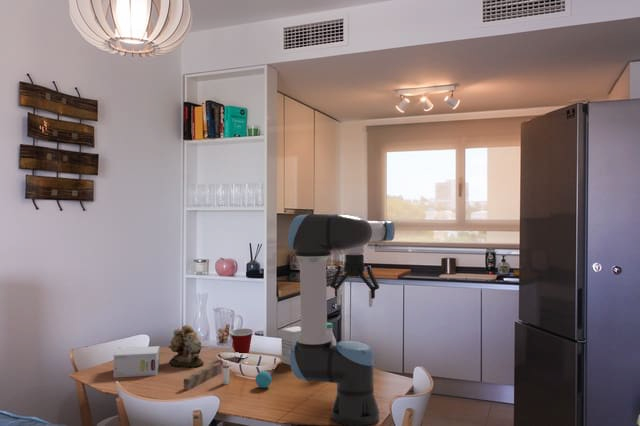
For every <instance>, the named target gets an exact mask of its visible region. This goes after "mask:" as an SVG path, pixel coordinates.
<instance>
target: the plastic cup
mask: <svg viewBox="0 0 640 426" xmlns="http://www.w3.org/2000/svg"><path fill="white" fill-rule="evenodd" d="M253 333H254V329H251V328H237V329H232V330H231V331H230V332H229V335H230V336H231V339H232V345H233V350H234V353H235V352H239V353H249V354H250V350H251V344H252V337H253Z"/></svg>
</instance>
